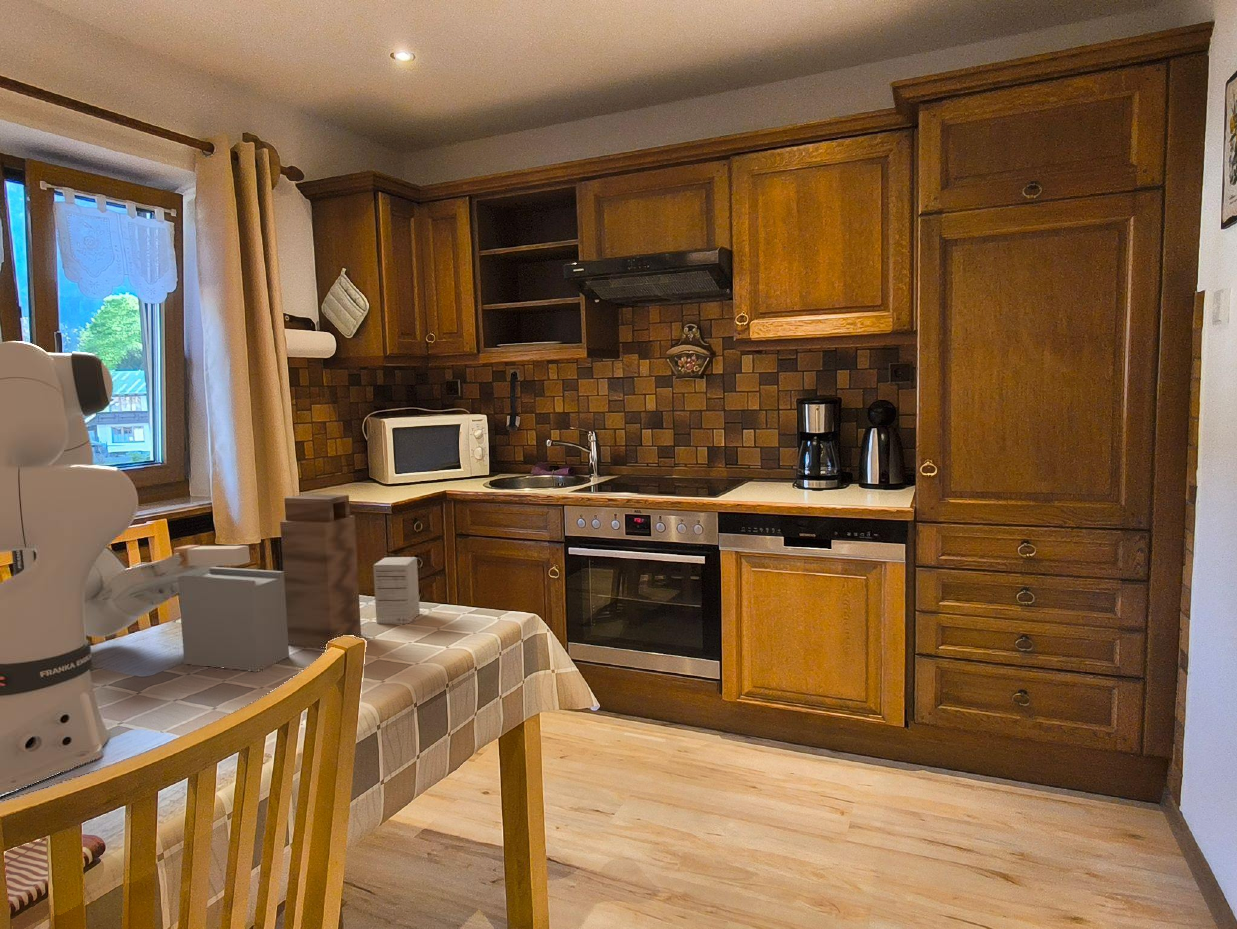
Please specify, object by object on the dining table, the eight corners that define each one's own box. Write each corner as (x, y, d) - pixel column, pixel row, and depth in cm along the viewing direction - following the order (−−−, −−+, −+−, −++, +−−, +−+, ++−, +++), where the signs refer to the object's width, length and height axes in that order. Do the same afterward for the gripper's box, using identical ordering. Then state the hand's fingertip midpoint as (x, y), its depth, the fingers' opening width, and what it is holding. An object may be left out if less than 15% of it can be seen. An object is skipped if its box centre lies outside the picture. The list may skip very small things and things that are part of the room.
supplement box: (387, 613, 168) (384, 556, 167) (420, 613, 168) (418, 556, 167) (375, 624, 161) (372, 564, 160) (410, 623, 161) (407, 564, 159)
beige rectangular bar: (237, 565, 136) (235, 547, 136) (175, 565, 140) (173, 548, 140) (250, 561, 139) (248, 544, 139) (189, 562, 143) (188, 545, 143)
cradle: (256, 672, 134) (250, 581, 132) (184, 664, 139) (177, 577, 137) (289, 656, 142) (283, 571, 140) (219, 649, 146) (213, 566, 145)
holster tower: (331, 649, 145) (323, 500, 142) (287, 645, 148) (278, 499, 145) (361, 634, 154) (353, 494, 151) (319, 630, 157) (311, 492, 154)
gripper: (83, 586, 136) (132, 550, 131) (181, 560, 155) (226, 528, 151) (100, 617, 135) (149, 582, 131) (195, 588, 155) (241, 557, 150)
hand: (191, 553), depth 141 cm, fingers closed on beige rectangular bar, 3 cm apart
